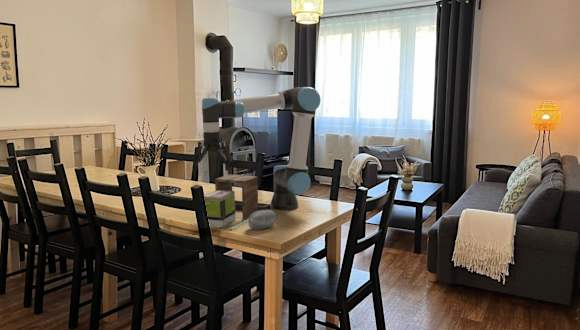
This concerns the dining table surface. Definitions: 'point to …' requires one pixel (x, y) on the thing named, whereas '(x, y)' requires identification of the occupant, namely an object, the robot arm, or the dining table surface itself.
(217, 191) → the tea box
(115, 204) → the dining table surface
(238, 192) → the dining table surface
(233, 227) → the lane
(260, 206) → the pit tray
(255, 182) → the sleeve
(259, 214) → the gray ridged ovoid
